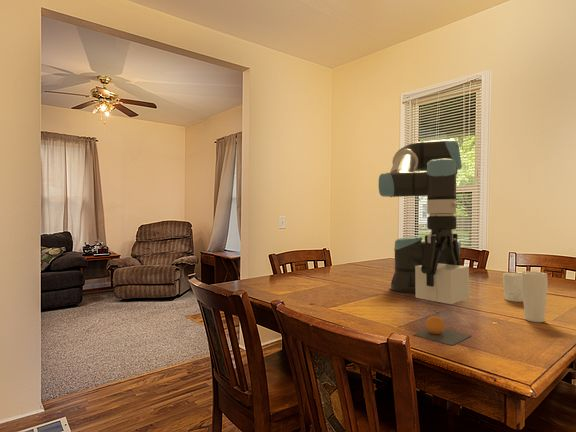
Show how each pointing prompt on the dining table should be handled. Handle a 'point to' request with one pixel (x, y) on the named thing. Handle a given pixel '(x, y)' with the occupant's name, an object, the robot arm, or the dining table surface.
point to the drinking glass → (534, 295)
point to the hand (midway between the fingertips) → (442, 295)
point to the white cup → (513, 287)
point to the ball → (435, 325)
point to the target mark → (444, 336)
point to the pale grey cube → (445, 283)
